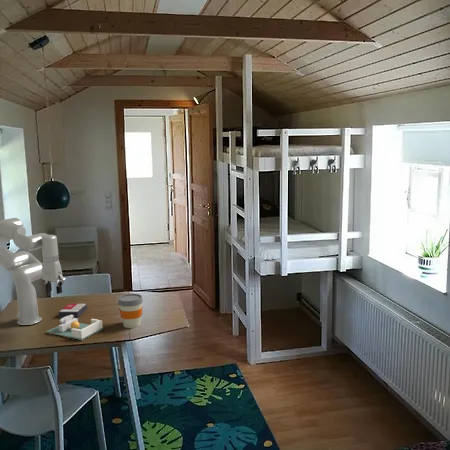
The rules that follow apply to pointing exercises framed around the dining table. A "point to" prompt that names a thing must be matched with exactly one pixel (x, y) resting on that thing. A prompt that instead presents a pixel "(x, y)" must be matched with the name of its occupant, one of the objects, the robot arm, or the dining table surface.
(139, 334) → the dining table surface
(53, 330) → the pitch
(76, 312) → the calculator
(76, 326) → the ball
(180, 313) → the dining table surface
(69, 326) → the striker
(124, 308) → the reusable coffee cup
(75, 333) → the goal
